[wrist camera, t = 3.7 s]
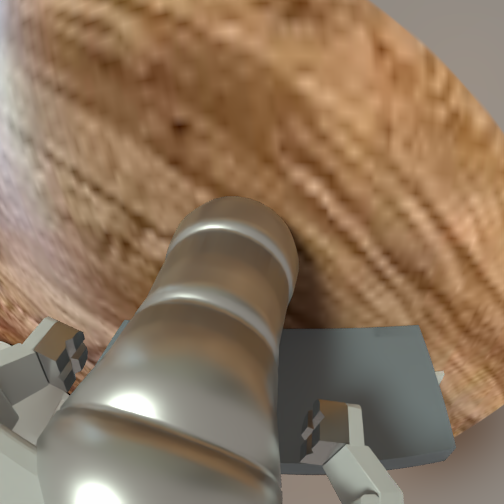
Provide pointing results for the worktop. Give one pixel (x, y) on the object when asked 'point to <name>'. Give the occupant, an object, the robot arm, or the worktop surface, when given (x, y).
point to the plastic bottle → (186, 376)
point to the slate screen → (361, 392)
